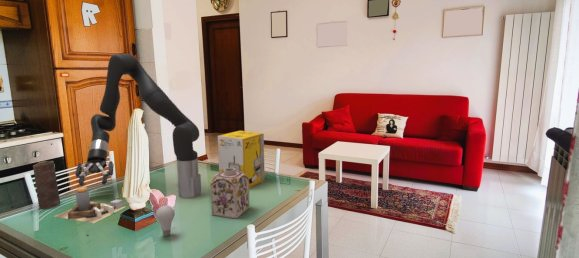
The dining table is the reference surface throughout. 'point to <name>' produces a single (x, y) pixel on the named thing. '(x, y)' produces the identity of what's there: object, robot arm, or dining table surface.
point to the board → (90, 220)
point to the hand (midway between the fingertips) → (92, 184)
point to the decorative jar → (229, 193)
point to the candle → (46, 184)
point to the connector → (83, 199)
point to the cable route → (106, 209)
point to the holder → (81, 214)
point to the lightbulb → (165, 218)
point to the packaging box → (243, 154)
